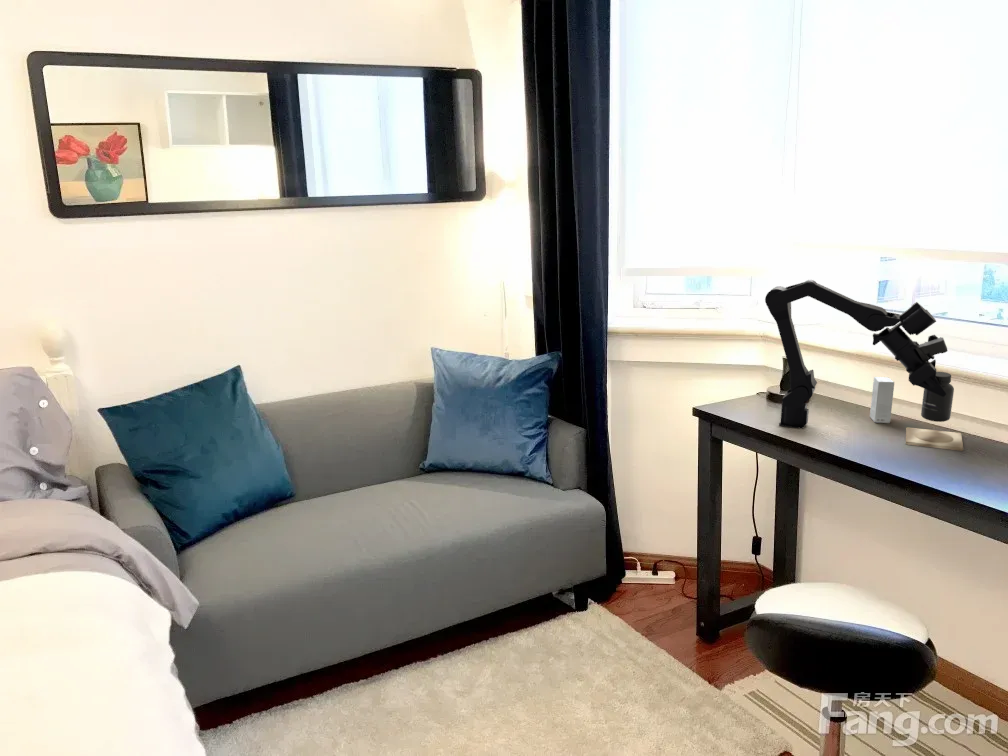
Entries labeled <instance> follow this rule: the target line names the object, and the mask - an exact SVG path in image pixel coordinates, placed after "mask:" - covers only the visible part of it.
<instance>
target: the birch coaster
mask: <svg viewBox="0 0 1008 756" xmlns="http://www.w3.org/2000/svg"><path fill="white" fill-rule="evenodd" d="M905 429H906V430H905V445H909V446H918V447H926V448H935V449H943V450H952V451H960V452H963V451H964V444H963V436H962V433H961V432H954V431H945V430H936V429H925V428H916V427H906V428H905Z"/></svg>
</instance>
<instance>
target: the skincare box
mask: <svg viewBox="0 0 1008 756" xmlns="http://www.w3.org/2000/svg"><path fill="white" fill-rule="evenodd" d="M894 389H895V381H893V380H892V379H891V378H890V377H888V376H887V377H885V376H884V377H883V376H873V383H872V391H871V392H872V394H871V403H870V411H869V418H871V420H872V421H873V422H874V423H877V424H883V423H884V424H890V423H891V417H892V408H893V407H892V406H893V399H894V398H893V397H894Z"/></svg>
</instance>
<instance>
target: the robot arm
mask: <svg viewBox="0 0 1008 756" xmlns="http://www.w3.org/2000/svg"><path fill="white" fill-rule="evenodd" d="M807 297H810V298H812V299H814V300H816V301H818V302H820V303H822V304H824V305H827V306H828V307H831V308H833V309H836V310H837V311H839V312H841V313H843V314H846V315H848V316H849V317H851V318H852V319H853V320H855V321H856V322H857V324H859V325H861V326H863V327H864V328H865V329H867V330H869V331H870V332H876V333H873V334H872V338H873V339H872V340H873V341H872V345H873V346H876V345H877V344H878V343H880V342H881V343H882V345H884V347H886V348H887V350H888V351H889V352H890V353H891V354H892V356H894V359H895V360H896V361H897V362H899V363H900V364H901V365H902V366H903V367H904V368H905V371H906V372H907V373H908V382H910V384H911V385H912V386H917V387H920V388H922V389H923V390H924V389H927V390H929V391H931V392H933V393H936V394H938V395H940V396H942V397H944V396H945V395H946V392H945V391H944V389H943V388H942V386H941V384H940V383H939V381H938V380H937V378H936V372H937V368H936V363H937V362H936V359H935V356H936V355H939V354H945V353H947V352H949V351H948V347H947V345H946V342H945V339H944V337H941V336H940V337H938V336H937V335H936V334H931V335H929V336H928V337H927V341H924V342H923V343H920V344H919V342H917V341H915V340H912V338H911V337H909V336H908V334H909V335H910V336H911V335H912V336H914V335H915V336H919V335H920V334H921V333H923V332H924V331H925V330H927V329H928V328H930V327H931V326H933V324H935V323H936V322H937V320H936V318H935V317H934V315H932V314H931V312H930V311H929V310H928V309H925V307H923V306H922V305H921V304H920V303H919V302H918V301H916V302H915V303H913V304H912V305H911V306H910V307H909V308H908V309H906V310H905V311H903V312H902V313H901V314H900V313H896V312H895V313H894V312H889V311H886V309H885V308H883V307H881V306H878V305H874V304H871V303H866V302H862V301H857V300H855V299H853V298H851V297H848V296H846V295H844V294H842V293H839V292H837V291H835V290H833V289H830V288H829V287H826V286H824V285H822V284H820V283H817V282H816V281H815V280H814V279H808V280H805V281H804V282H800V283H796V284H792V285H789V286H786V287H784V286H775V287H773V288H772V289H770V291H768V292H767V293H766V295H765V297H764V298H765V299H764V302H765V304H766V307H767V309H768V311H769V313H770V315H771V316H772V318H773V319H774V321H775V322H776V325H777V328H778V332H779V333H778V334H779V337H780V340H781V343H782V344H781V345H782V347H783V350H784V351H783V352H784V355H785V358H786V362H787V365H788V366H787V367H788V369H789V386H790V388H789V389H788V390H786V391H785V393H784V395H783V397H782V398H781V412H780V422H779V423H778V426H781V427H788V428H793V429H794V428H795V429H804V428H805V426H806V425H807V424H808V423H809V412H810V410H809V408H808V403H807V401H809V400H811V398H812V397H813V395H814V392H815V391H816V386H817V384H818V382H817V380H816V378H815V372H814V369H810V370H808V369H807V367H806V365H805V362H804V359H803V355H802V352H801V347H800V343H799V341H798V338H797V332H796V330H795V326H794V322H793V318H792V303H793V302H795V301H798V300H801V299H804V298H807ZM889 327H891V328H889ZM901 327H902V328H901ZM881 330H882V331H881ZM878 331H880V332H879V333H877V332H878ZM930 360H931V361H930Z"/></svg>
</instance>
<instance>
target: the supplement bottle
mask: <svg viewBox="0 0 1008 756" xmlns="http://www.w3.org/2000/svg"><path fill="white" fill-rule="evenodd" d="M936 378H937V380H938V381H939V383H940V384H941V386H942V388H943V389H944V391H945V392H946V395H945V396H944V397H942V396H940V395H938V394H936V393H933V392H931V391H929V390H927V389H924V388H923V395H922V404H921V411H920V412H921V413H920V416H921V418H923V419H925V420H926V421H930V422H935V423H936V422H937V423H938V422H939V423H940V422H941V423H943V422H948V421H949V420H950V419H951V415H952V409H953V407H952V406H953V400H954V392H955V389H954V386H953V385H952V384H951V383H952V375H951V373H948V372H945V371H936Z"/></svg>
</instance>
